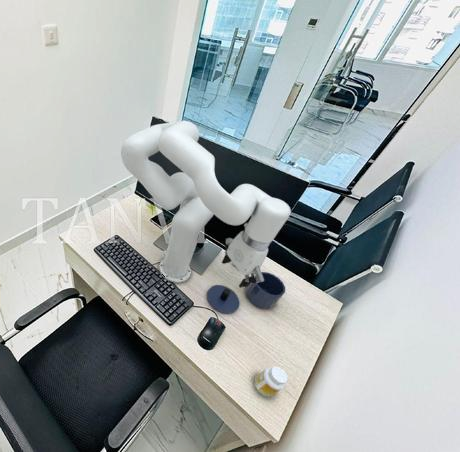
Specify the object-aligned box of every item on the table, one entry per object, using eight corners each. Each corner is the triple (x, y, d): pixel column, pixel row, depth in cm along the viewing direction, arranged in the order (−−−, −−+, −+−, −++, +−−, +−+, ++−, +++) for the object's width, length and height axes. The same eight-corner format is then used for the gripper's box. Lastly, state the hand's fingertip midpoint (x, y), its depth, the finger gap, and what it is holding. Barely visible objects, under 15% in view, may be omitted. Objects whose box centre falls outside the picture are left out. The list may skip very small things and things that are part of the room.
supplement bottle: (277, 394, 72) (295, 383, 65) (261, 399, 71) (277, 388, 64) (266, 373, 76) (281, 361, 69) (250, 377, 75) (264, 366, 68)
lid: (200, 290, 96) (204, 281, 92) (226, 283, 99) (231, 275, 95) (217, 318, 88) (222, 309, 84) (244, 309, 91) (250, 301, 87)
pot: (240, 288, 98) (248, 275, 92) (261, 282, 100) (271, 269, 94) (257, 312, 91) (268, 299, 85) (280, 305, 93) (291, 292, 87)
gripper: (227, 219, 77) (210, 256, 88) (266, 264, 65) (240, 299, 77) (248, 216, 79) (228, 252, 90) (289, 258, 67) (260, 293, 79)
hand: (234, 273), depth 84 cm, fingers open, 9 cm apart
